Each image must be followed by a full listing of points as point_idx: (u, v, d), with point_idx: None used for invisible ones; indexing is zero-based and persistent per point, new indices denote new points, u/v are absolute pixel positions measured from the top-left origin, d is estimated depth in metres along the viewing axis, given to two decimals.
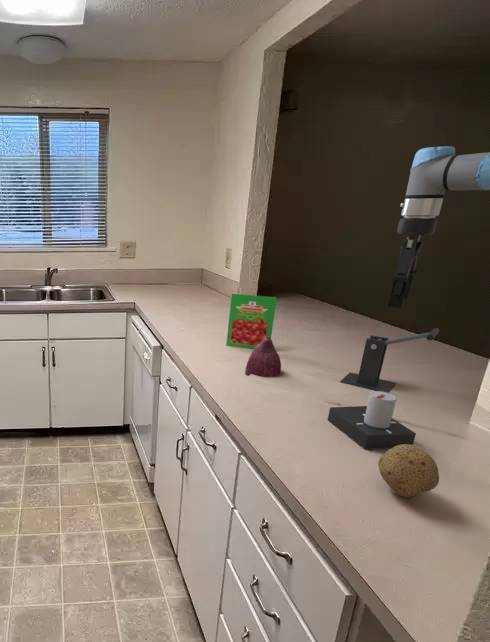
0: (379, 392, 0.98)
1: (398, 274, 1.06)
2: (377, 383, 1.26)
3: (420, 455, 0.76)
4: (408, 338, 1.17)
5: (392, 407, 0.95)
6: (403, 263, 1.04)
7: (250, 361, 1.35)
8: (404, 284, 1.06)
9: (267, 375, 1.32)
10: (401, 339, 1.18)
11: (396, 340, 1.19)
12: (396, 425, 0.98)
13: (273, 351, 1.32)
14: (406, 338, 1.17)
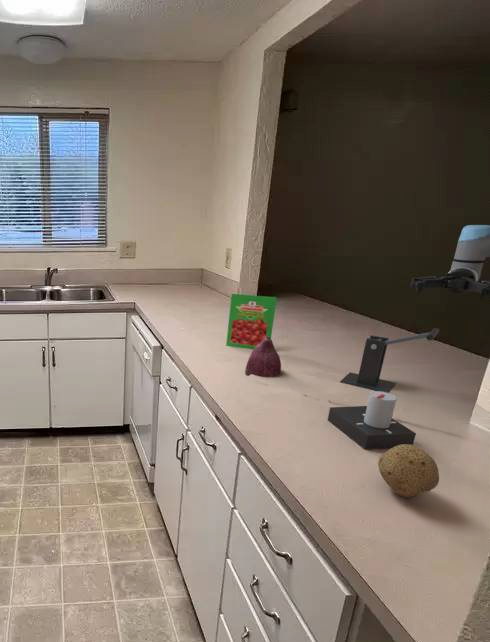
0: (379, 392, 0.98)
1: None
2: (377, 383, 1.26)
3: (420, 455, 0.76)
4: (408, 338, 1.17)
5: (392, 407, 0.95)
6: None
7: (250, 361, 1.35)
8: None
9: (267, 375, 1.32)
10: (401, 339, 1.18)
11: (396, 340, 1.19)
12: (396, 425, 0.98)
13: (273, 351, 1.32)
14: (406, 338, 1.17)
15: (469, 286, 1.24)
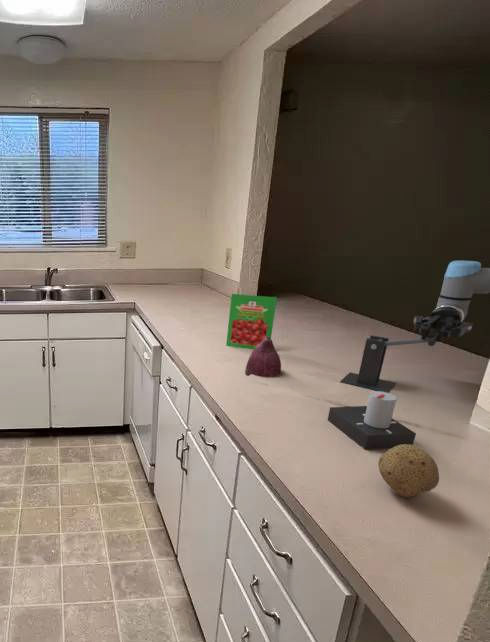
0: (379, 392, 0.98)
1: None
2: (377, 383, 1.26)
3: (420, 455, 0.76)
4: (409, 341, 1.17)
5: (392, 407, 0.95)
6: None
7: (250, 361, 1.35)
8: (427, 326, 1.17)
9: (267, 375, 1.32)
10: (402, 342, 1.18)
11: (397, 342, 1.19)
12: (396, 425, 0.98)
13: (273, 351, 1.32)
14: (407, 341, 1.17)
15: (445, 326, 1.20)
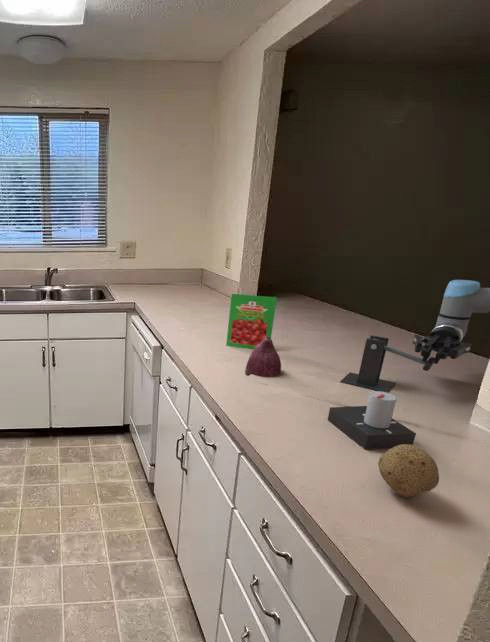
0: (379, 392, 0.98)
1: None
2: (377, 383, 1.26)
3: (420, 455, 0.76)
4: (406, 355, 1.18)
5: (392, 407, 0.95)
6: (415, 344, 1.24)
7: (250, 361, 1.35)
8: (428, 347, 1.18)
9: (267, 375, 1.32)
10: (400, 353, 1.19)
11: (395, 351, 1.20)
12: (396, 425, 0.98)
13: (273, 351, 1.32)
14: (405, 354, 1.18)
15: (443, 347, 1.22)
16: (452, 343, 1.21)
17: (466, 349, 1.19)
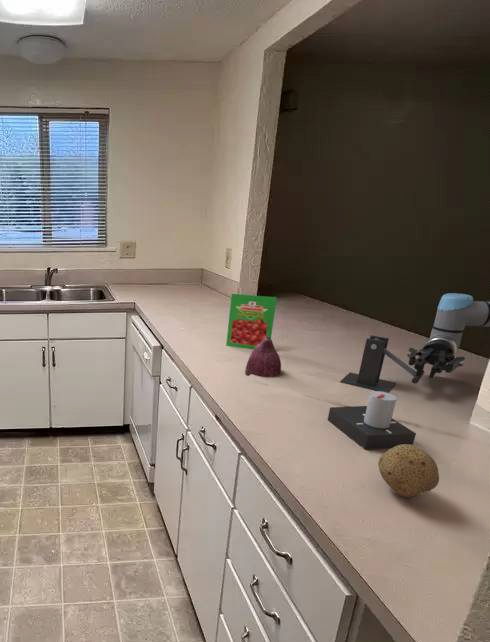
0: (379, 392, 0.98)
1: None
2: (377, 383, 1.26)
3: (420, 455, 0.76)
4: (400, 363, 1.20)
5: (392, 407, 0.95)
6: (409, 357, 1.26)
7: (250, 361, 1.35)
8: (421, 361, 1.20)
9: (267, 375, 1.32)
10: (395, 359, 1.20)
11: (392, 356, 1.21)
12: (396, 425, 0.98)
13: (273, 351, 1.32)
14: (399, 362, 1.20)
15: (437, 360, 1.23)
16: (446, 356, 1.23)
17: (460, 362, 1.21)
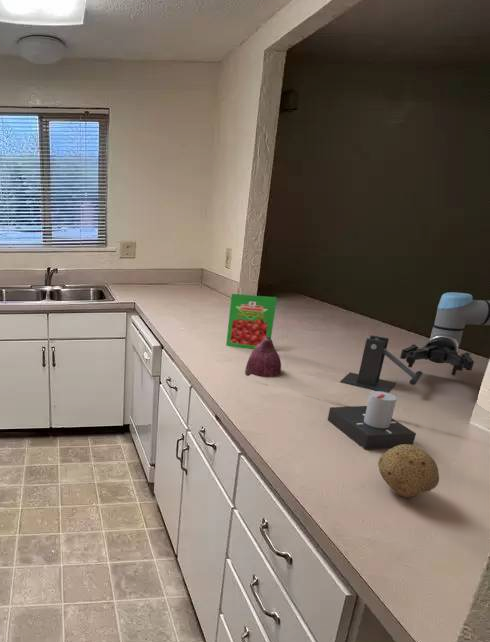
0: (379, 392, 0.98)
1: None
2: (377, 383, 1.26)
3: (420, 455, 0.76)
4: (399, 364, 1.20)
5: (392, 407, 0.95)
6: None
7: (250, 361, 1.35)
8: (413, 354, 1.23)
9: (267, 375, 1.32)
10: (395, 360, 1.20)
11: (391, 357, 1.21)
12: (396, 425, 0.98)
13: (273, 351, 1.32)
14: (398, 363, 1.20)
15: (447, 358, 1.23)
16: (453, 354, 1.23)
17: None
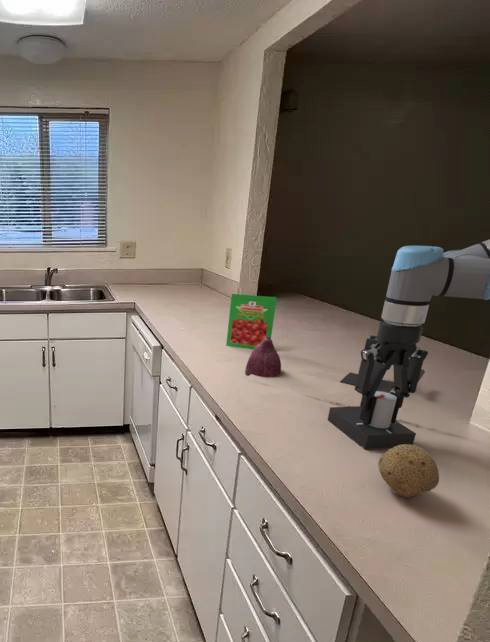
0: (379, 392, 0.98)
1: None
2: None
3: (420, 455, 0.76)
4: None
5: (392, 407, 0.95)
6: (360, 376, 0.95)
7: (250, 361, 1.35)
8: (371, 399, 0.96)
9: (267, 375, 1.32)
10: None
11: None
12: (396, 425, 0.98)
13: (273, 351, 1.32)
14: None
15: (396, 366, 0.95)
16: None
17: None
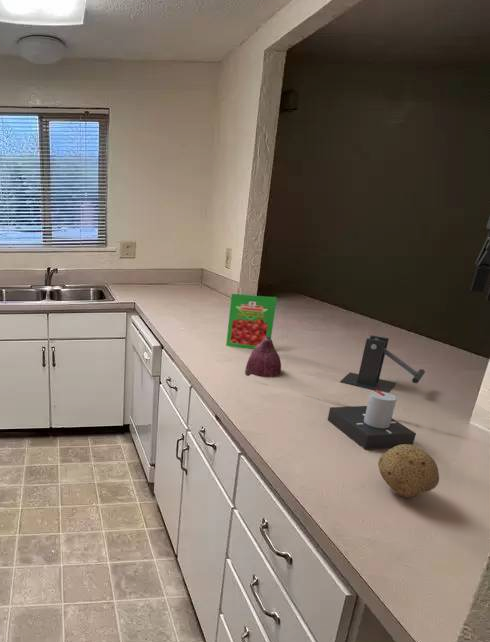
0: (391, 397, 0.96)
1: None
2: (377, 383, 1.26)
3: (420, 455, 0.76)
4: (400, 363, 1.19)
5: (369, 402, 0.98)
6: None
7: (250, 361, 1.35)
8: None
9: (267, 375, 1.32)
10: (396, 359, 1.20)
11: (392, 356, 1.21)
12: (396, 425, 0.98)
13: (273, 351, 1.32)
14: (399, 361, 1.20)
15: None
16: None
17: None
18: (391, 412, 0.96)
